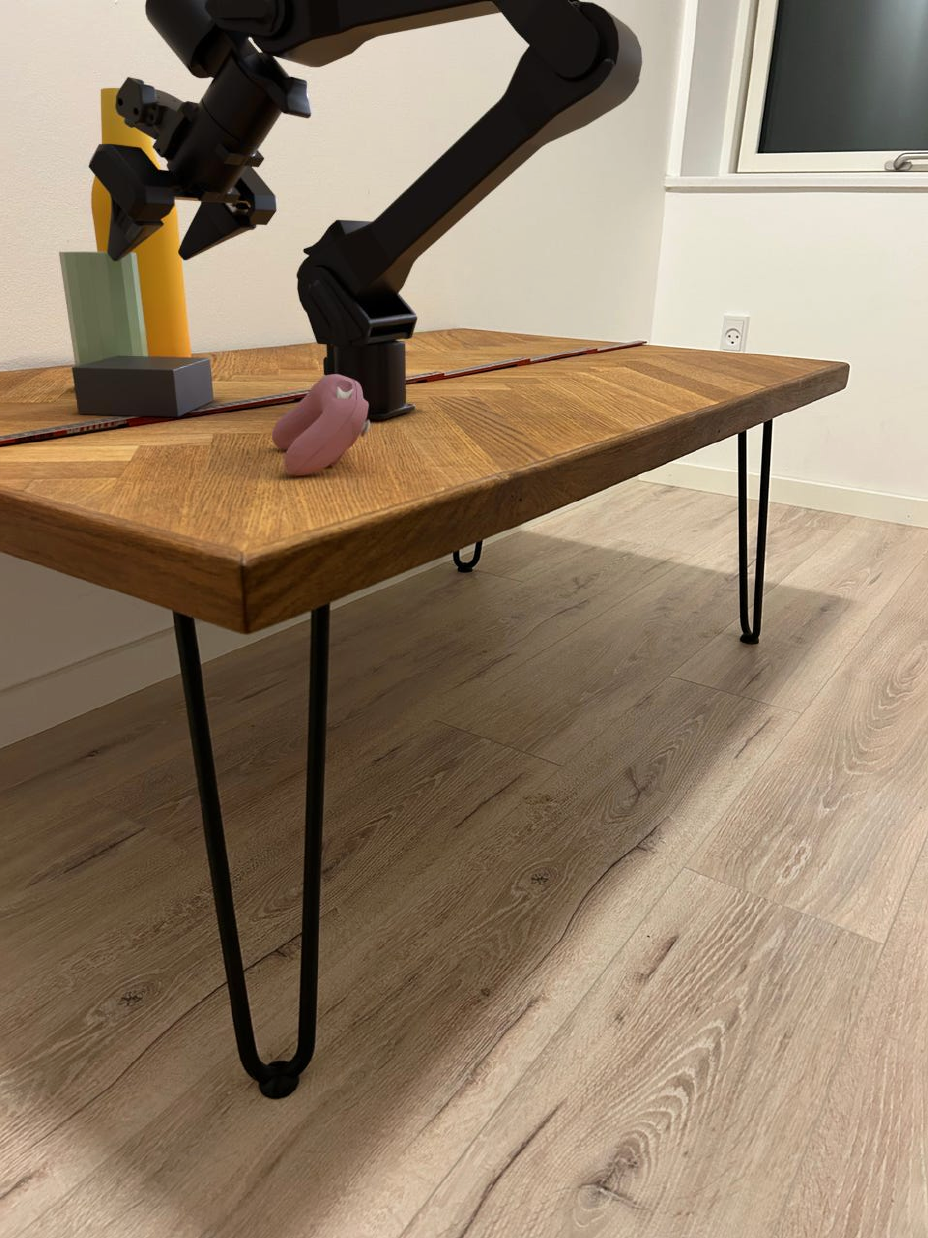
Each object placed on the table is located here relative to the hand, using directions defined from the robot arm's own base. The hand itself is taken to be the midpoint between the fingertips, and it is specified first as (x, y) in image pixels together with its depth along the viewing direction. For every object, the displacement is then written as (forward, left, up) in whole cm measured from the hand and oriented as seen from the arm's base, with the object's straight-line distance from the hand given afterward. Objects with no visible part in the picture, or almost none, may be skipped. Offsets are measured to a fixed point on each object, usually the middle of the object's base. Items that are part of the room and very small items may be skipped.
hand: (148, 256), depth 86 cm
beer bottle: (+15, -15, -13) cm, 25 cm away
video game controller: (-31, +18, -13) cm, 38 cm away
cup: (+6, 0, -13) cm, 14 cm away
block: (-5, +7, -13) cm, 15 cm away
